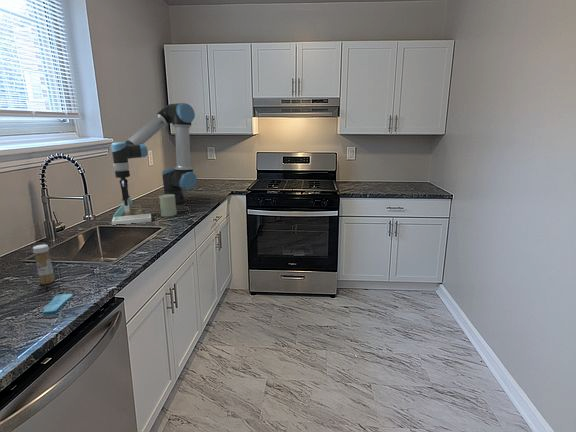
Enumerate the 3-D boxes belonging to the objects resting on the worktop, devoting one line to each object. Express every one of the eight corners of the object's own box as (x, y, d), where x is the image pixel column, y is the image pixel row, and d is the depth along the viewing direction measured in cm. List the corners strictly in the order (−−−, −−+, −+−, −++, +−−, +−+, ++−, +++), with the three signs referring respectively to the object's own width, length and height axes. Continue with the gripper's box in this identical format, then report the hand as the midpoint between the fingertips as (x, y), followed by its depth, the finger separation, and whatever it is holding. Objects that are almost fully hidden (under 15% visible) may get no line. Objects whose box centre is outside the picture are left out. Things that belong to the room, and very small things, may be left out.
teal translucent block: (142, 215, 221) (140, 203, 219) (142, 217, 217) (140, 204, 215) (126, 217, 218) (124, 204, 216) (125, 218, 214) (123, 206, 212)
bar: (132, 200, 217) (128, 197, 216) (132, 202, 213) (127, 199, 212) (118, 217, 217) (113, 214, 216) (117, 220, 212) (113, 216, 211)
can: (164, 217, 216) (162, 197, 213) (158, 214, 223) (156, 194, 219) (179, 214, 221) (177, 194, 218) (173, 211, 228) (171, 192, 225)
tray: (151, 217, 216) (150, 213, 215) (151, 221, 207) (150, 217, 206) (113, 221, 210) (113, 217, 209) (112, 226, 200) (111, 221, 200)
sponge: (34, 313, 109) (54, 309, 110) (55, 294, 121) (73, 291, 121) (36, 317, 110) (56, 314, 110) (56, 299, 121) (74, 296, 122)
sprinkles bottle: (37, 284, 130) (29, 248, 126) (45, 279, 134) (38, 244, 131) (50, 284, 130) (42, 248, 126) (57, 279, 134) (50, 243, 130)
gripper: (116, 168, 216) (121, 207, 222) (113, 172, 200) (119, 214, 206) (130, 167, 219) (135, 206, 225) (128, 171, 202) (133, 212, 208)
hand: (127, 209), depth 215 cm, fingers closed on bar, 5 cm apart
